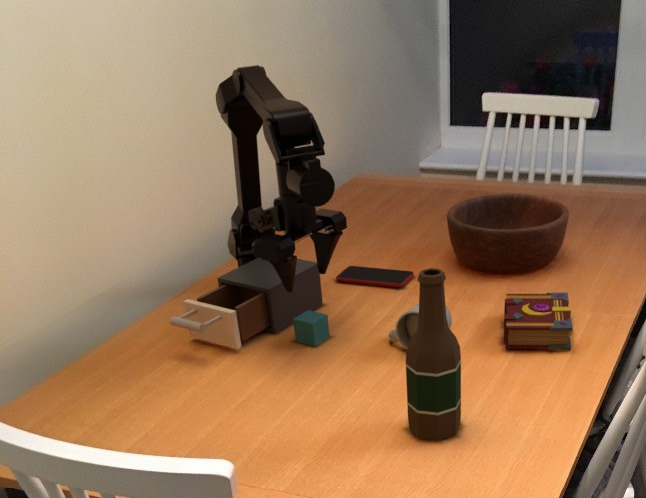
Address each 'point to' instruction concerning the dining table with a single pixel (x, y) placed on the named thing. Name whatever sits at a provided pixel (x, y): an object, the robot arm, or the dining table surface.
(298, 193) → the robot arm
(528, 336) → the decorative book
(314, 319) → the block
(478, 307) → the dining table surface
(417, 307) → the ceramic mug
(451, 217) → the wooden bowl
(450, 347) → the beer bottle
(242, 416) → the dining table surface
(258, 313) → the drawer
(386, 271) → the smartphone
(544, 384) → the dining table surface
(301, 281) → the cabinet
